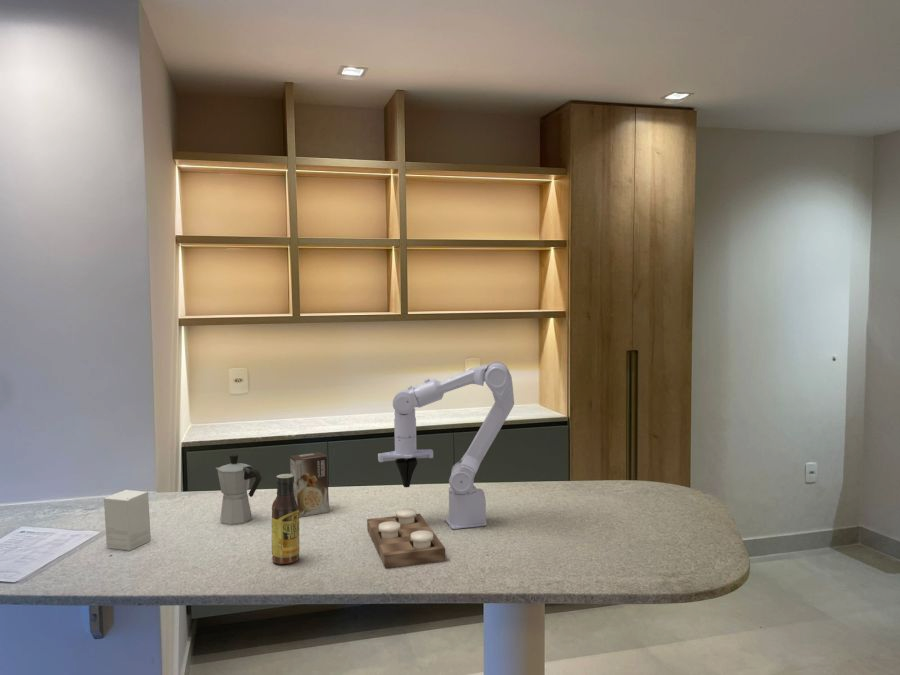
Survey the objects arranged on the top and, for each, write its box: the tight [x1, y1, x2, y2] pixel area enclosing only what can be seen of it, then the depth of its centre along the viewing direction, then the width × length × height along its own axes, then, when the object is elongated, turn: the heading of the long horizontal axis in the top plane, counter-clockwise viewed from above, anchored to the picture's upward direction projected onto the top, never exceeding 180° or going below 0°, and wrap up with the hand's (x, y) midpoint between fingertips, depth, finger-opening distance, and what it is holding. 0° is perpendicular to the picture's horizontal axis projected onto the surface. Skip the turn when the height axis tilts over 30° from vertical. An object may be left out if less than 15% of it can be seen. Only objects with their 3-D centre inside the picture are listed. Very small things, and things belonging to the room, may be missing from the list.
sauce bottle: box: [271, 473, 300, 565], centre depth 158 cm, size 7×6×20 cm
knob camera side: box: [411, 531, 433, 549], centre depth 160 cm, size 5×5×5 cm
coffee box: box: [289, 451, 330, 518], centre depth 192 cm, size 9×6×16 cm
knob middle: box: [379, 521, 400, 539], centre depth 167 cm, size 5×5×5 cm
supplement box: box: [103, 489, 152, 552], centre depth 170 cm, size 7×7×13 cm
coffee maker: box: [215, 453, 263, 526], centre depth 186 cm, size 15×9×18 cm, turn 68°
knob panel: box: [366, 513, 446, 569], centre depth 168 cm, size 14×25×3 cm, turn 16°
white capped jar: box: [395, 507, 418, 524], centre depth 176 cm, size 5×5×5 cm
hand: (406, 486), depth 182 cm, fingers closed
